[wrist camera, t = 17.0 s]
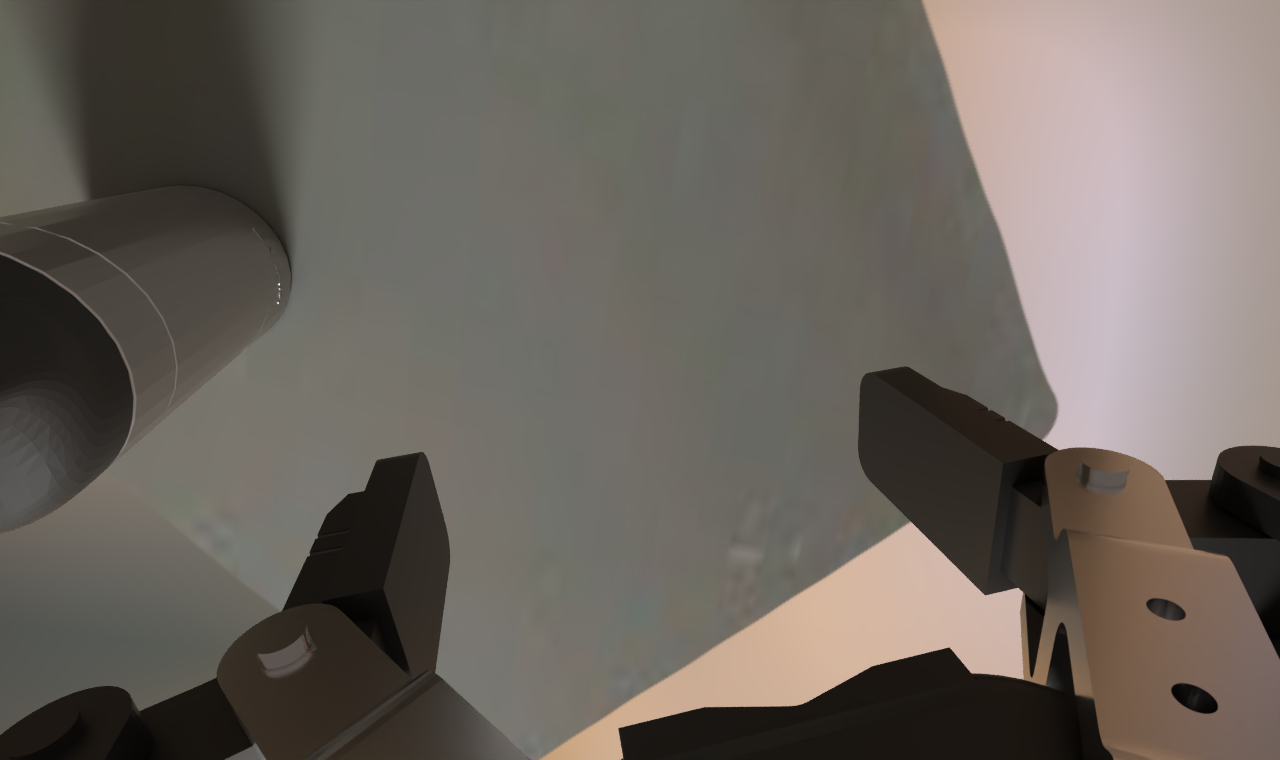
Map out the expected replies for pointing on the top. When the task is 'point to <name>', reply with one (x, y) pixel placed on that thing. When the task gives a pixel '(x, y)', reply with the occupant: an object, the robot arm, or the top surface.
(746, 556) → the top surface
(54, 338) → the robot arm
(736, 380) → the top surface
